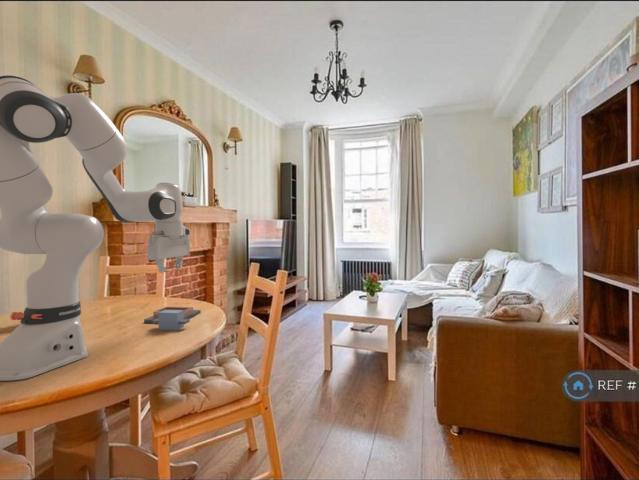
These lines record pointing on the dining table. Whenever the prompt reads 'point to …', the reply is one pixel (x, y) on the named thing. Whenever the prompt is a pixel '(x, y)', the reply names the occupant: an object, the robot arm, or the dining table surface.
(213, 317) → the dining table surface
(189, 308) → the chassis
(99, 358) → the dining table surface
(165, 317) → the block
